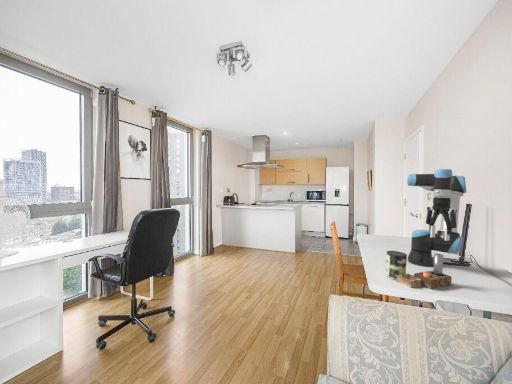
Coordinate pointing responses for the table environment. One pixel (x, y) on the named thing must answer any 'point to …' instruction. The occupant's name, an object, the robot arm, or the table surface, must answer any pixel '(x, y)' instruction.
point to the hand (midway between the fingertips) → (439, 238)
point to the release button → (426, 274)
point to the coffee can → (395, 264)
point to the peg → (438, 264)
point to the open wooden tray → (409, 280)
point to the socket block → (434, 280)
